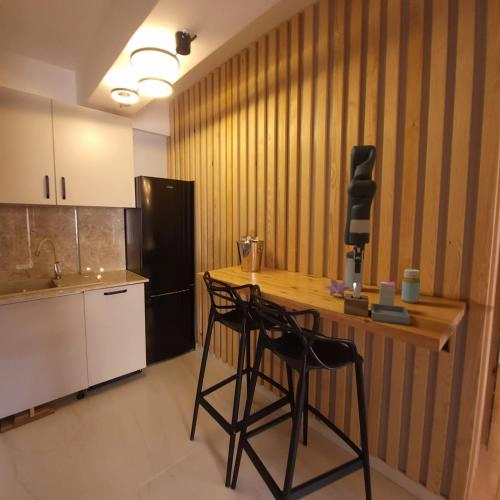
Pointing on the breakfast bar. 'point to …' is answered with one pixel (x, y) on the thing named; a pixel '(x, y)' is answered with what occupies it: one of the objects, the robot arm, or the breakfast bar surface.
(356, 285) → the pin gauge
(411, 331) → the breakfast bar surface
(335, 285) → the lily
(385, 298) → the supplement box
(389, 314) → the tray
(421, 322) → the breakfast bar surface
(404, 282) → the bottle
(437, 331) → the breakfast bar surface
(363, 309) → the bore block
